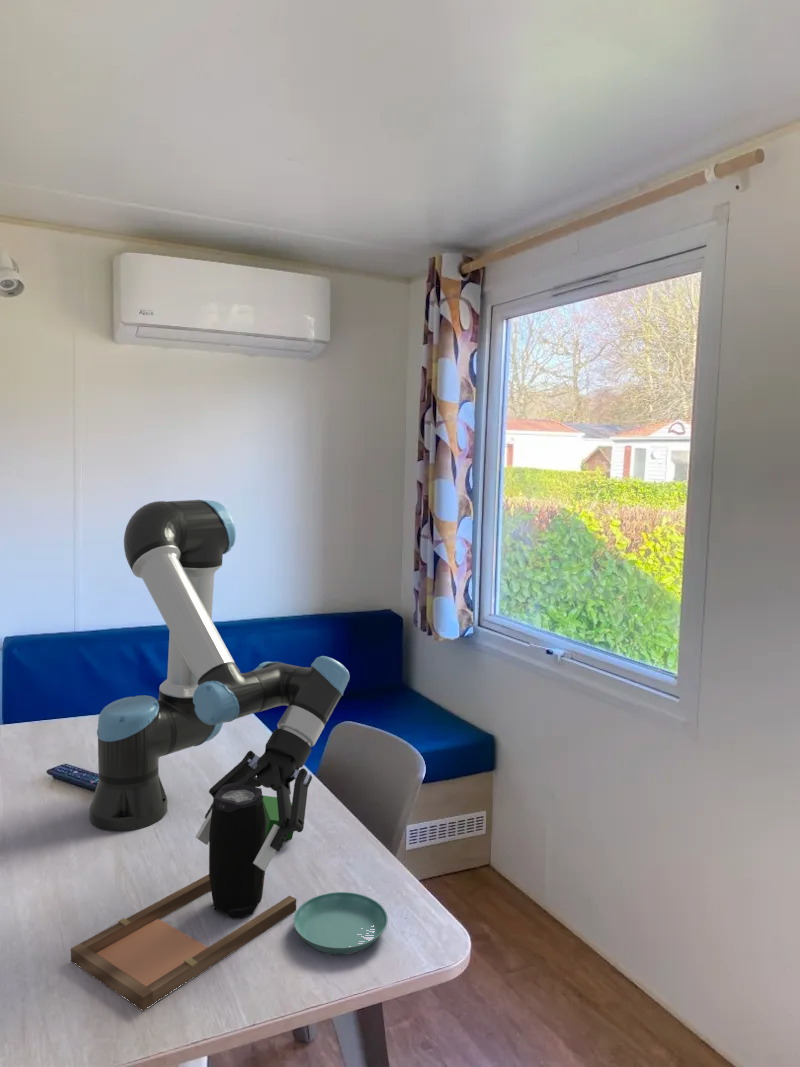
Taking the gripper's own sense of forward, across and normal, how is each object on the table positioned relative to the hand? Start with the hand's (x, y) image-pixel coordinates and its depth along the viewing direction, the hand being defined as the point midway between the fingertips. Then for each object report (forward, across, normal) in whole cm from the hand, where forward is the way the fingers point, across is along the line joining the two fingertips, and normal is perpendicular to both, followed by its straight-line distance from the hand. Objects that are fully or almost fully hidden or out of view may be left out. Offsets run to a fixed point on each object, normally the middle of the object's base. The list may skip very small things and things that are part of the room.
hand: (229, 854), depth 125 cm
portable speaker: (+6, 0, -8) cm, 10 cm away
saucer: (+2, -18, -12) cm, 22 cm away
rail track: (+12, 0, -2) cm, 12 cm away
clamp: (-10, +12, -24) cm, 29 cm away
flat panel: (+17, 0, +3) cm, 17 cm away
